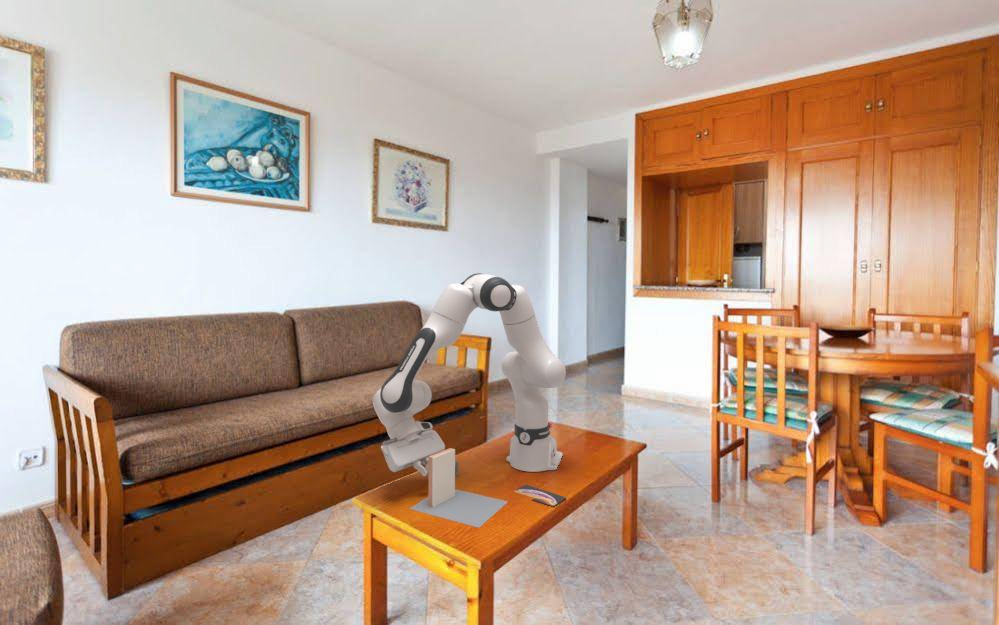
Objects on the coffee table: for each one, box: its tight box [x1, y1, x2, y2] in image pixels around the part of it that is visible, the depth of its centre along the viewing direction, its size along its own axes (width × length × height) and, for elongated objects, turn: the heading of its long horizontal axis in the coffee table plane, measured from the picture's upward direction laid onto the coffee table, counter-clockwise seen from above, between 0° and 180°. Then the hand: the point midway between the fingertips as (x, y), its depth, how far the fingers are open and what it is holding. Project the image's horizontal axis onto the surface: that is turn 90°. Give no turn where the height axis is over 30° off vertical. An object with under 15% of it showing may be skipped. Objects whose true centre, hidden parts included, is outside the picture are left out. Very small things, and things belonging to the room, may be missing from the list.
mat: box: [409, 488, 508, 528], centre depth 140 cm, size 17×22×1 cm
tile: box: [427, 447, 456, 507], centre depth 142 cm, size 2×9×14 cm, turn 143°
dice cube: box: [455, 460, 459, 478], centre depth 160 cm, size 5×5×5 cm
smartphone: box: [514, 484, 567, 508], centre depth 147 cm, size 8×1×15 cm
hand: (428, 474), depth 145 cm, fingers closed
